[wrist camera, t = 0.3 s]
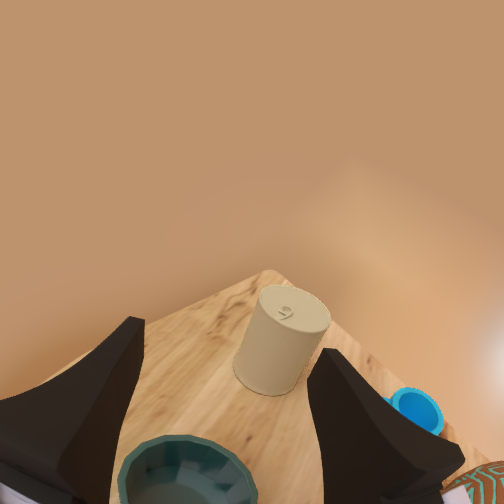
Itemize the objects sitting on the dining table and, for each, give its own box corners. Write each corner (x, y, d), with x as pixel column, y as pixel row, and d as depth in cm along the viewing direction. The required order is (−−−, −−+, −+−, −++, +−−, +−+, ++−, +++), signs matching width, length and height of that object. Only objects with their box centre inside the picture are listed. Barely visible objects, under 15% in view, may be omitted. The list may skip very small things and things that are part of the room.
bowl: (228, 562, 14) (252, 559, 11) (112, 532, 13) (101, 522, 10) (239, 476, 23) (261, 451, 20) (140, 450, 23) (140, 418, 20)
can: (218, 365, 37) (243, 293, 32) (258, 339, 44) (286, 274, 40) (273, 408, 33) (313, 340, 28) (307, 373, 40) (344, 310, 35)
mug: (409, 438, 31) (444, 403, 28) (398, 479, 24) (441, 447, 21) (343, 403, 36) (373, 364, 33) (322, 442, 29) (357, 404, 26)
